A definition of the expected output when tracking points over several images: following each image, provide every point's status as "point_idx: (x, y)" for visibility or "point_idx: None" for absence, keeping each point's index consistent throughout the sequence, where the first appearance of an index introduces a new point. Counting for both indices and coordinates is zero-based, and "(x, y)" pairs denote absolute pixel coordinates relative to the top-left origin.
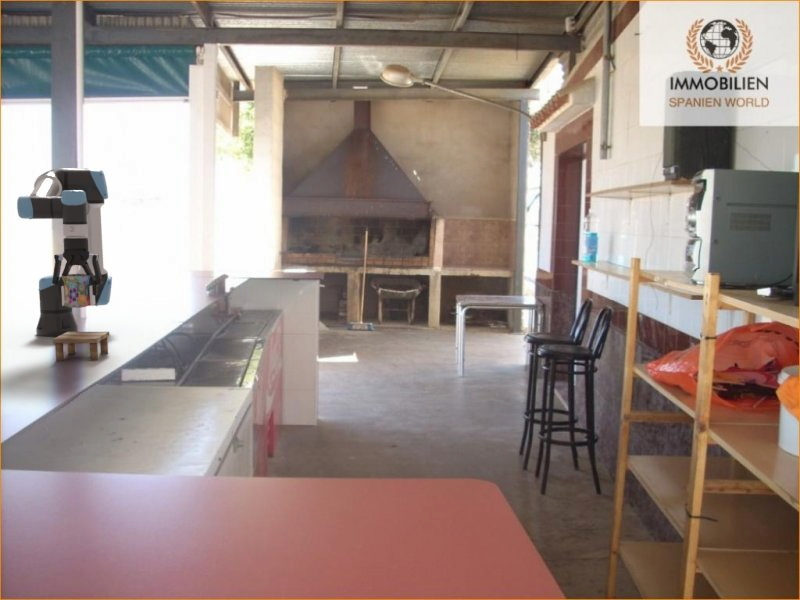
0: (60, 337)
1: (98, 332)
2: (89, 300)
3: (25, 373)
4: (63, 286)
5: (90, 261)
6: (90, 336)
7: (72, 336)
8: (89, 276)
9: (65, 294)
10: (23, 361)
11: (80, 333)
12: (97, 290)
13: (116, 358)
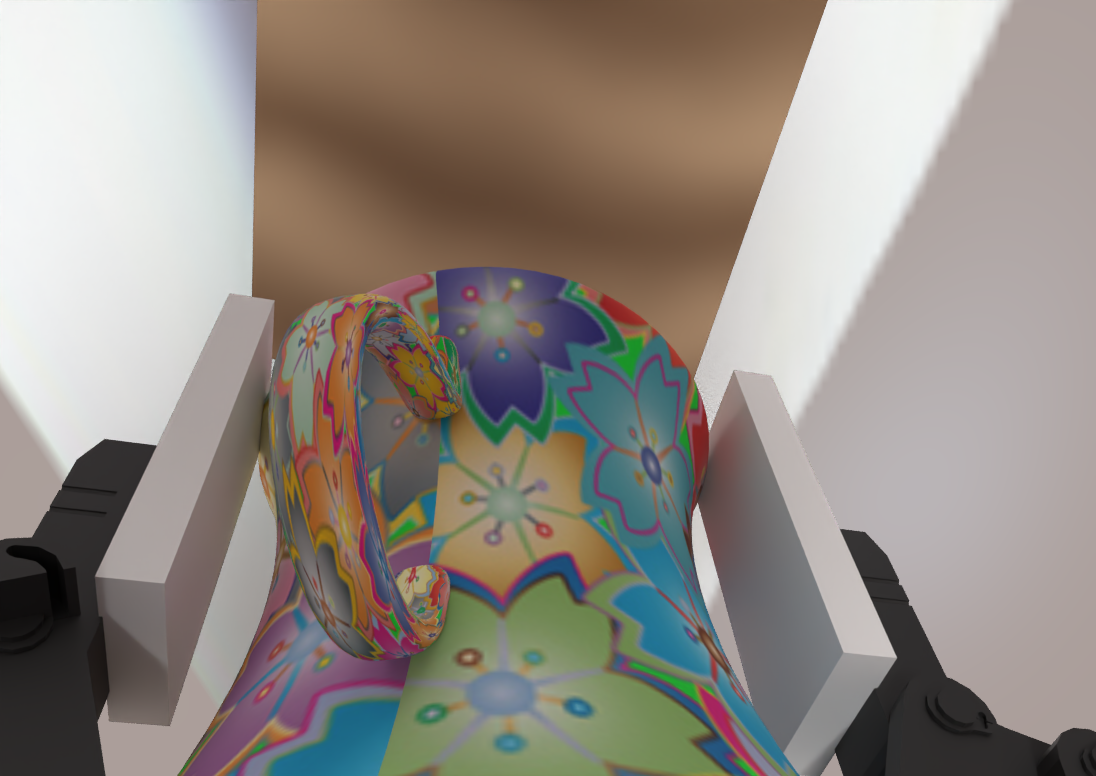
0: (304, 279)
1: (699, 16)
2: (695, 497)
3: (234, 563)
4: (167, 722)
5: None
6: (617, 281)
7: (422, 243)
8: None
9: (224, 505)
10: (15, 195)
11: (477, 48)
12: (907, 604)
13: (801, 231)
